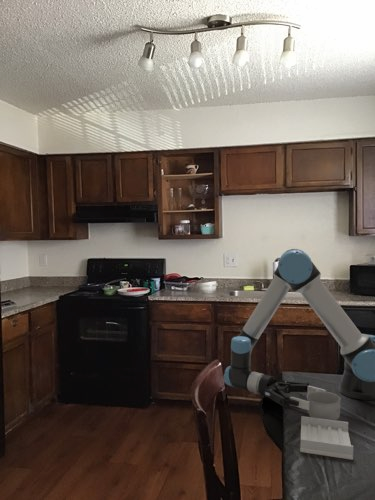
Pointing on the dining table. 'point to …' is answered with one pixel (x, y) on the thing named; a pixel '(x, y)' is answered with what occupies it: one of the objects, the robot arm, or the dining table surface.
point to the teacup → (324, 405)
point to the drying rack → (325, 437)
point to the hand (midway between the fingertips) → (317, 399)
